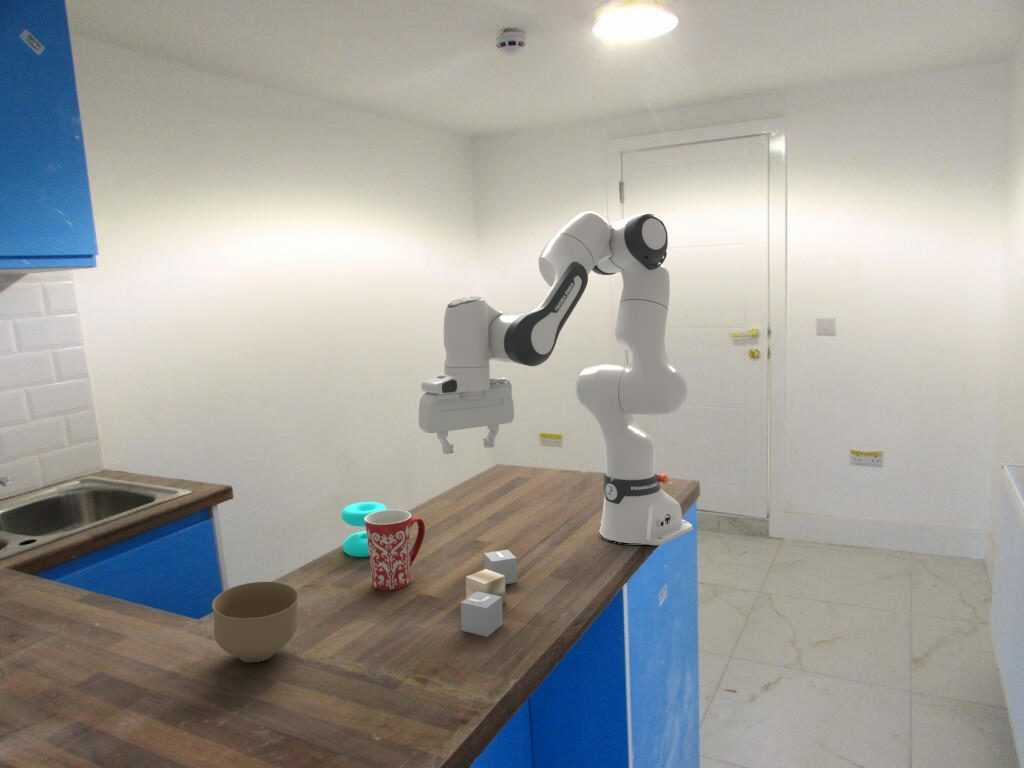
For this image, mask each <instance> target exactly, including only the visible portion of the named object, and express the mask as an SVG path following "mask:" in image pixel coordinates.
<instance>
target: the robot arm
mask: <svg viewBox="0 0 1024 768" xmlns="http://www.w3.org/2000/svg"><path fill="white" fill-rule="evenodd" d="M668 241H669V238H668V230H667V227H666V225H665V223H664V221H663V220H662V219H661V217H659V216H658V215H656V214H654V213H650V212H649V213H647V212H645V213H638V214H634V215H632V216H630V217H627V218H624V219H623V218H622V219H620V220H618V221H616V222H613V223H612V224H609V222H608V221H607V220H606V219H605V218H604V217H603V216H602V215H601V214H599V213H596V212H594V211H583V212H580V213H579V214H577V215H575V216H574V217H573V218H572V219H569V221H568V222H566V223H565V224H564V225H563V226H562V227H561V228H560V229H559V230H558V231H556V233H555V234H554V235H553V236H552V238H551V239H550V240H549V241H548V242H547V244H545V246H544V247H543V249H542V250H541V252H540V255H539V256H538V269H539V272H540V275H541V276H542V278H543V280H544V282H545V283H546V284H547V285H549V286H550V289H549V290H548V292H547V293H546V295H545V296H544V297H543V299H542V301H541V302H540V303H539V306H537V308H535V309H534V310H531V311H529V312H524V313H504V312H503V311H500V310H498V309H496V308H494V307H493V306H492V305H490V304H489V303H488V302H486V300H485V298H483V297H481V296H470V297H463V298H457V299H455V300H452V301H451V302H449V303H448V304H447V306H446V308H445V311H444V315H443V316H444V318H443V346H444V348H445V360H444V363H443V364H444V365H443V366H444V367H443V368H444V370H443V371H442V372H440V373H438V374H436V375H433V376H432V377H430V378H427V379H425V380H423V381H422V382H421V383H420V384H421V387H420V388H421V390H422V392H425V393H423V394H421V395H422V396H421V397H420V399H419V405H418V427H419V428H420V429H421V431H422V432H424V433H428V434H436V437H437V439H438V440H439V442H440V443H441V445H442V454H445V455H448V454H449V455H450V454H454V444H452V443H450V442H449V440H448V439H447V438H448V437H449V432H451V431H457V430H465V429H474V428H482V427H487V430H489V431H488V434H487V436H486V437H483V439H482V441H483V447H484V448H486V449H489V448H495V439H496V437H497V435H498V433H499V431H500V425H505V424H511V423H512V422H513V421H514V418H515V407H514V399H513V395H512V394H513V391H512V390H513V387H512V383H511V382H510V380H508V379H506V378H505V377H498V378H491V377H490V376H491V373H490V372H491V370H490V368H491V367H490V366H491V365H490V360H491V361H495V362H503V363H515V364H519V365H522V366H523V365H524V366H528V367H536V366H540V365H541V364H543V363H545V362H546V361H547V360H548V359H549V358H550V357H551V355H552V353H553V351H554V350H555V347H556V344H557V341H558V338H559V335H560V333H561V331H562V329H563V328H564V325H565V324H566V322H567V321H568V319H569V317H570V316H571V314H572V313H573V311H574V310H575V308H576V306H577V305H578V303H579V301H580V300H581V298H582V296H583V294H584V293H585V290H586V289H587V286H588V282H589V274H590V273H591V271H592V272H594V273H595V274H598V275H601V276H612V275H615V274H617V273H621V277H622V282H623V287H622V288H623V289H622V292H621V296H620V300H619V305H618V311H617V316H616V317H617V318H616V320H615V321H616V322H615V323H616V324H615V328H614V336H615V340H616V341H617V343H618V345H620V346H621V347H622V348H623V349H625V350H627V351H628V352H629V353H631V354H632V355H631V356H632V362H631V364H611V363H610V364H609V363H604V364H597V365H591V366H588V367H585V368H583V369H582V370H581V372H580V373H579V374H578V377H577V379H576V382H575V394H576V397H577V399H578V400H577V401H578V402H579V403H580V405H581V406H582V407H584V408H585V409H586V410H587V411H588V412H589V414H590V415H592V417H593V418H594V421H596V424H597V425H598V427H599V430H600V433H601V435H602V441H603V443H604V444H603V446H604V461H605V463H604V465H605V472H604V473H603V481H602V482H603V491H604V497H603V506H602V507H603V508H602V515H601V520H600V523H601V526H600V525H599V530H598V533H599V532H600V534H601V535H602V536H603V537H605V538H608V539H611V540H615V541H618V542H625V543H641V544H640V545H650V546H661V545H664V544H667V543H668V542H670V541H672V540H674V539H676V538H678V537H680V536H682V535H684V534H686V533H688V532H690V531H692V530H693V529H694V528H693V525H692V524H691V523H690V522H689V521H687V520H685V519H683V512H682V508H681V504H680V502H678V501H677V500H676V499H675V498H673V497H672V496H671V495H669V494H668V493H666V492H665V491H664V490H662V489H661V485H660V483H662V484H667V483H668V482H669V476H668V474H663V473H659V474H656V471H655V470H656V468H655V466H656V461H655V459H656V458H655V457H656V455H655V453H656V446H655V442H654V440H653V438H652V437H651V435H650V434H649V433H647V432H646V431H644V430H643V429H642V428H640V427H639V426H638V424H637V423H636V422H635V420H634V417H633V415H636V416H637V415H639V416H649V417H661V416H667V415H675V414H676V413H678V412H679V411H680V410H681V409H682V408H683V406H684V404H685V403H686V399H687V396H688V386H687V382H686V380H685V378H684V376H683V375H682V373H681V372H680V371H679V370H677V369H676V368H675V366H674V365H673V364H672V363H671V361H670V359H669V357H668V354H667V351H666V346H665V336H666V326H667V319H668V312H669V305H670V293H671V292H670V291H671V289H670V287H671V284H670V283H671V282H670V280H671V279H670V273H669V270H668V269H667V267H665V266H664V265H663V264H664V262H665V260H666V258H667V255H668V254H667V250H668V246H669V242H668Z"/></svg>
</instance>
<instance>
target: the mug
mask: <svg viewBox="0 0 1024 768" xmlns="http://www.w3.org/2000/svg"><path fill="white" fill-rule="evenodd" d="M364 521H365V524H366V526H365V529H366V530H365V531H366V532H367V540H368V549H369V556H368V557H369V563H370V571H371V581H372V582H371V583H372V586H373V588H375V589H378V590H381V591H393V590H398V589H403V588H405V587H406V586H408V585H409V584H410V582H411V567H412V564H413V563H414V561H415V559H416V557H417V556H418V555H419V554H418V553H419V551H420V549H421V547H422V545H423V543H424V537H425V533H426V527H425V522H424V520H423V519H422V518H420V517H418V516H413V515H412V513H410V512H409V511H406V510H402V509H387V510H382V511H377V512H374V513H371V514H369V515H367V516H366V517H365V518H364ZM415 523H417V528H418V529H417V536H416V539H415V541H414V543H413V545H412V548H411V534H412V533H411V530H412V529H411V528H412V527H413V525H414V524H415Z"/></svg>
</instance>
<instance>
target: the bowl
mask: <svg viewBox="0 0 1024 768" xmlns="http://www.w3.org/2000/svg"><path fill="white" fill-rule="evenodd" d="M299 598H300V596H299V592H298V591H297V590H296V588H294V587H293V586H291V585H288V584H285V583H282V582H276V581H254V582H247V583H243V584H239V585H235V586H232V587H230V588H228V589H226V590H223V591H222V592H221V593H219V594H217V596H215V597H214V599H213V601H212V602H211V603H212V604H211V608H212V611H213V617H214V618H213V619H214V621H213V622H214V626H213V627H214V628H213V633H214V638H215V642H216V643H217V645H218V646H220V648H222V650H223V651H225V653H228V654H229V655H231V656H233V657H236V658H238V659H240V660H241V661H242V662H245V663H249V662H257V663H261V662H260V661H262V662H264V660H265V661H267V660H269V659H271V658H272V657H273V656H274V655H275V654H276V653H277V652H278V651H280V650H281V649H282V648H283V647H285V646H286V645H288V643H289V642H290V640H292V638H293V636H295V633H296V631H297V627H298V602H299V601H298V600H299ZM266 659H267V660H266Z"/></svg>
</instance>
